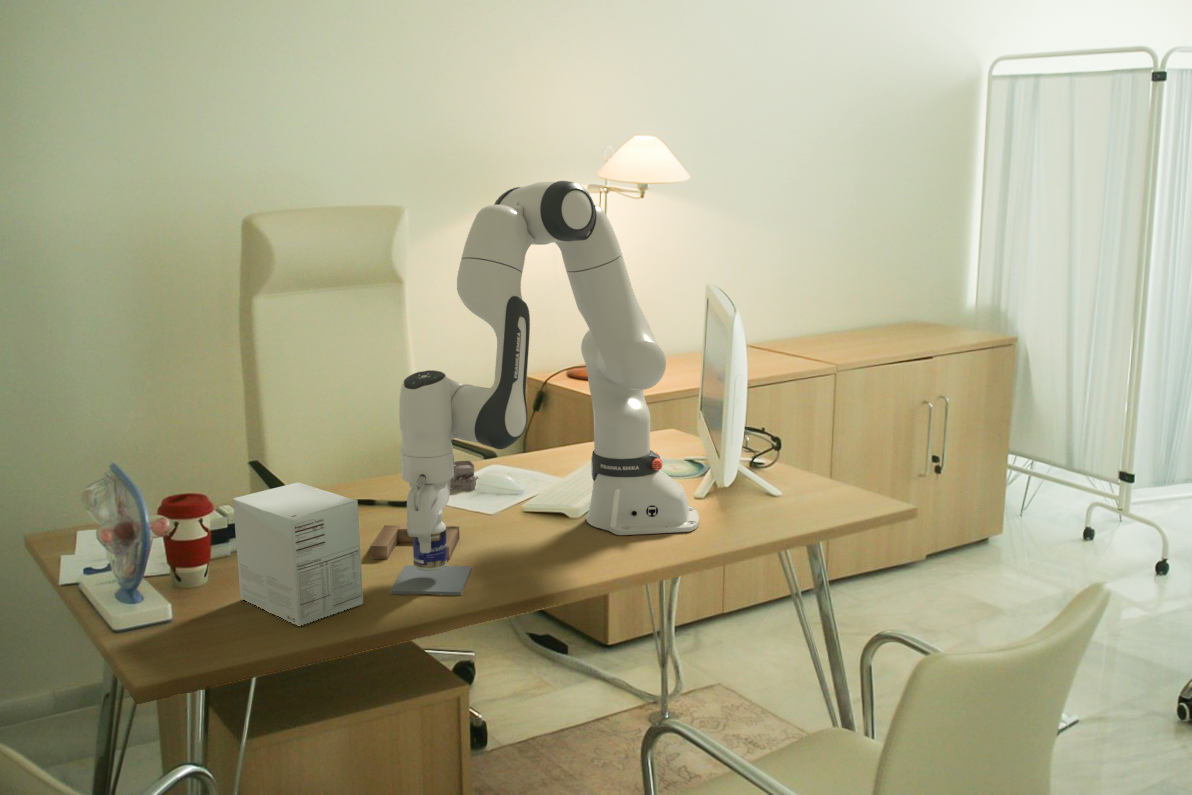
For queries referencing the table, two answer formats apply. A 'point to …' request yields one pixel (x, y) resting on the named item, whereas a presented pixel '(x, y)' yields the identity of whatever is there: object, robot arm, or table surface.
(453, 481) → the dental mold
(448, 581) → the mat
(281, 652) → the table surface
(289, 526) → the supplement box
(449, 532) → the holder
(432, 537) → the pill bottle
